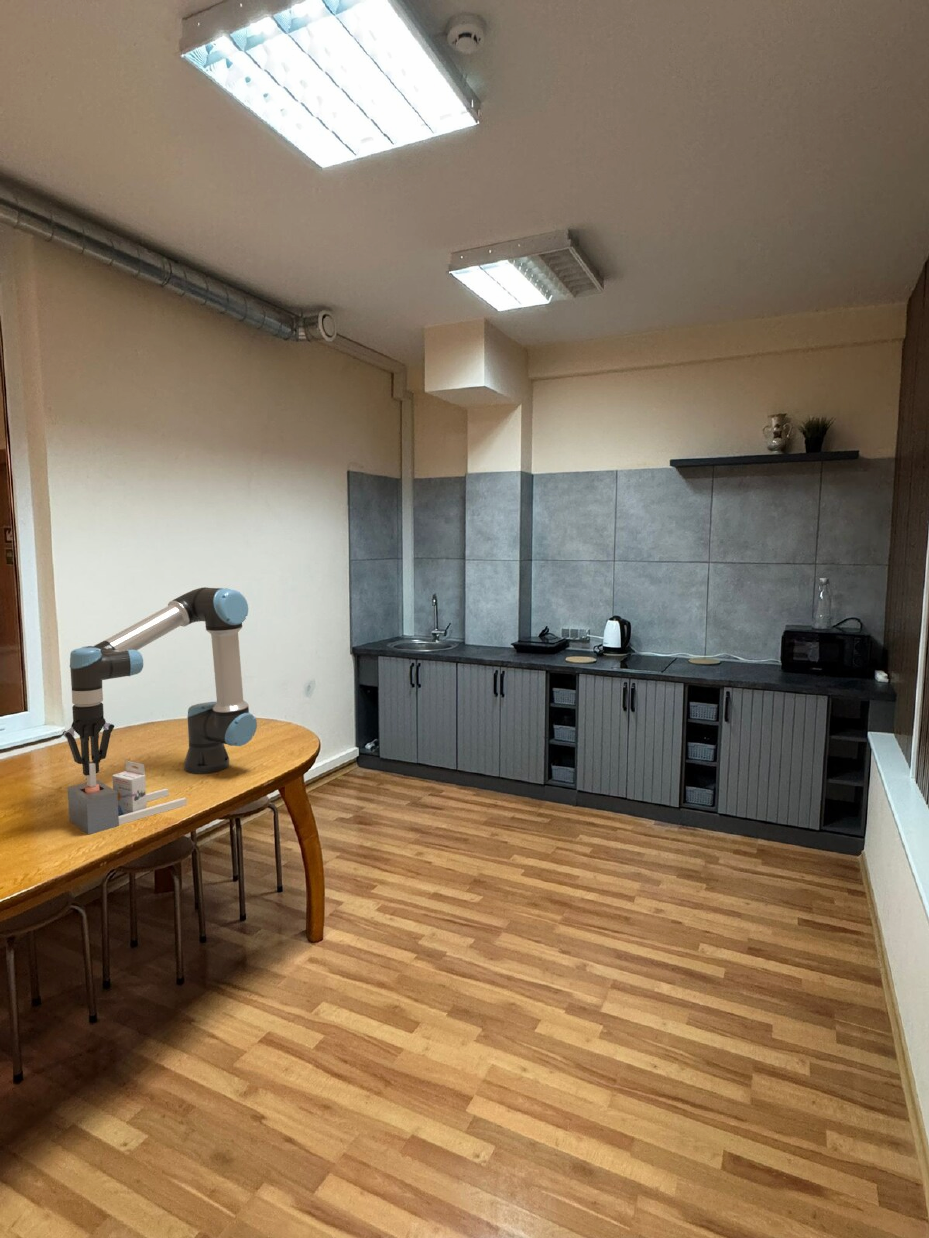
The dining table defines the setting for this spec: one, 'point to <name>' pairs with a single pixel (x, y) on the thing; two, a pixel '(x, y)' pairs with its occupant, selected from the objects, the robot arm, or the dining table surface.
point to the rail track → (153, 807)
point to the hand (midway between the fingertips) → (91, 785)
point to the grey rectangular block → (93, 808)
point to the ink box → (130, 788)
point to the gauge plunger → (91, 789)
